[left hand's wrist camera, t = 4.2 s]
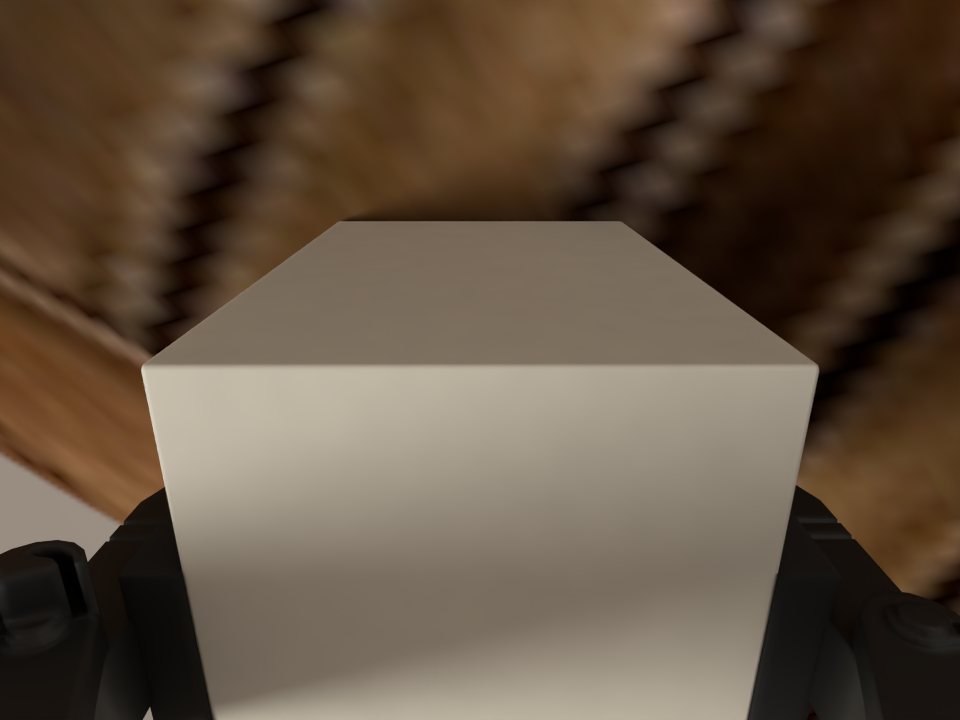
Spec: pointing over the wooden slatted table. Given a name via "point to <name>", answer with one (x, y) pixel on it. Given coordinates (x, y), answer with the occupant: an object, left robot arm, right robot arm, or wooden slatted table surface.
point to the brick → (480, 479)
